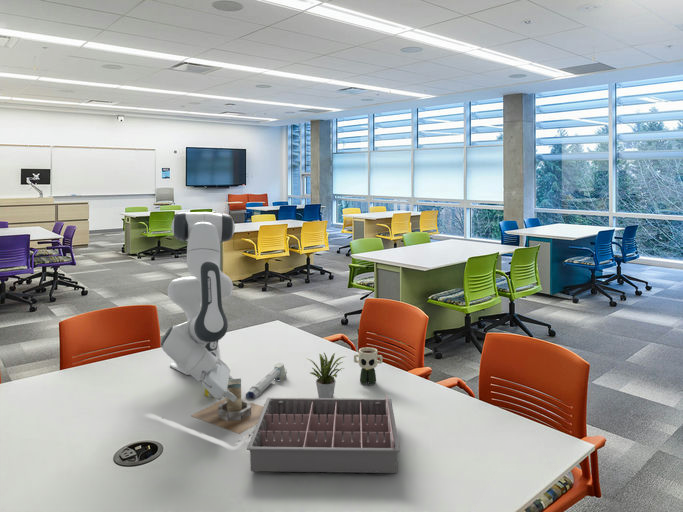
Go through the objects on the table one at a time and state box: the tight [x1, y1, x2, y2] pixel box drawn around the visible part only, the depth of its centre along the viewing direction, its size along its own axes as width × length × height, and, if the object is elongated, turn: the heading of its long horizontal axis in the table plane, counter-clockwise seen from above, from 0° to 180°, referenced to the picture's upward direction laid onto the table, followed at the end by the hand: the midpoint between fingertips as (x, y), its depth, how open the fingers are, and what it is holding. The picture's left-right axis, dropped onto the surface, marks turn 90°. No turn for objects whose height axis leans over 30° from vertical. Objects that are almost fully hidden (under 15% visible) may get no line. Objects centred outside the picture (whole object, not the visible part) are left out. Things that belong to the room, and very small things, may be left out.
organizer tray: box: [246, 394, 401, 474], centre depth 147 cm, size 32×40×10 cm
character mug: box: [353, 346, 383, 386], centre depth 193 cm, size 11×7×13 cm, turn 84°
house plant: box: [306, 352, 348, 398], centre depth 180 cm, size 14×14×16 cm
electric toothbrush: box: [245, 362, 288, 399], centre depth 190 cm, size 5×7×25 cm
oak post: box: [227, 378, 243, 412], centre depth 166 cm, size 4×4×11 cm
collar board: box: [190, 398, 264, 435], centre depth 166 cm, size 22×18×4 cm
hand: (236, 393), depth 165 cm, fingers open, 8 cm apart
